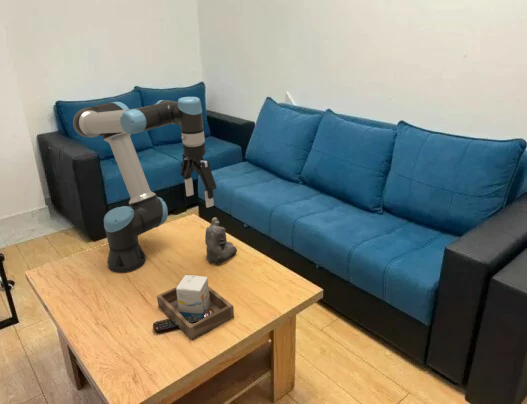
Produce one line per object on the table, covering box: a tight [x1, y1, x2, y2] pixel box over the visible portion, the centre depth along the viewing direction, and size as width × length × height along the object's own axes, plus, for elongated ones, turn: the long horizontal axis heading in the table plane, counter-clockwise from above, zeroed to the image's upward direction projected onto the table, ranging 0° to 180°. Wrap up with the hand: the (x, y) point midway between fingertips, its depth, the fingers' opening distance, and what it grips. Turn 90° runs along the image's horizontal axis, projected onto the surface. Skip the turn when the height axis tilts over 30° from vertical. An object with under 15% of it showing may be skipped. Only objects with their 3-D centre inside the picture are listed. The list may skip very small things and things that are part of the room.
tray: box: [156, 285, 235, 342], centre depth 147 cm, size 22×16×5 cm
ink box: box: [176, 274, 210, 318], centre depth 146 cm, size 9×8×12 cm
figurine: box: [204, 216, 238, 265], centre depth 176 cm, size 13×12×18 cm
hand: (199, 200), depth 156 cm, fingers open, 13 cm apart
